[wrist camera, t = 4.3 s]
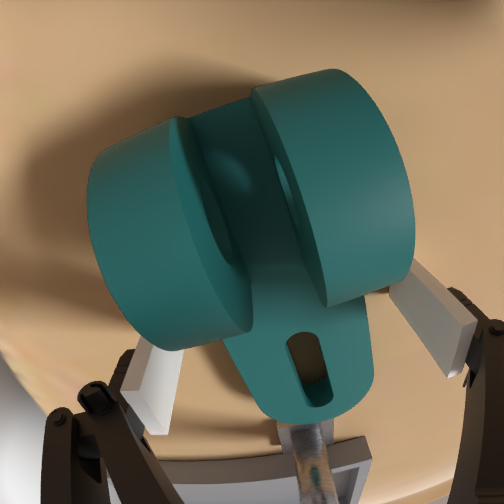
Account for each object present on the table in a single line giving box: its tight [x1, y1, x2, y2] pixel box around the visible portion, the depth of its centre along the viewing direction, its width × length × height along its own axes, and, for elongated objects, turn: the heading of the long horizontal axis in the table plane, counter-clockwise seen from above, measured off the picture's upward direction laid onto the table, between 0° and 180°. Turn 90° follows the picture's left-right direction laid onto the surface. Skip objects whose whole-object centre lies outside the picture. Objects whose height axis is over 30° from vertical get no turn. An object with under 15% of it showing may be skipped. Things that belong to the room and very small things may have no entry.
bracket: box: [87, 69, 415, 424], centre depth 12 cm, size 18×7×8 cm, turn 19°
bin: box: [106, 436, 372, 504], centre depth 24 cm, size 16×24×2 cm, turn 100°
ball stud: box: [276, 418, 339, 504], centre depth 14 cm, size 4×4×13 cm
